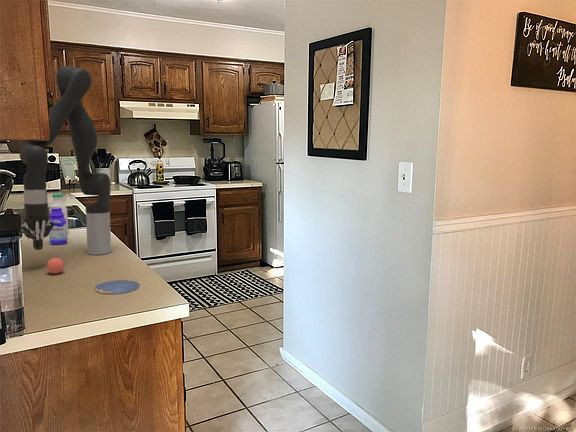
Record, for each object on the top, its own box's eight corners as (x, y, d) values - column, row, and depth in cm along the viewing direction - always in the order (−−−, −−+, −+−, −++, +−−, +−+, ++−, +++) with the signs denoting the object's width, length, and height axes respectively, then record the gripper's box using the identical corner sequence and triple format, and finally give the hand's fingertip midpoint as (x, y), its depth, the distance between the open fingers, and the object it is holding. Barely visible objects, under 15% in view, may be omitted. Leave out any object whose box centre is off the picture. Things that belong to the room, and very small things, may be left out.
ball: (48, 271, 171) (47, 256, 170) (65, 270, 173) (64, 255, 172) (45, 276, 166) (44, 260, 165) (63, 275, 167) (62, 259, 167)
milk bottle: (63, 232, 236) (61, 192, 232) (71, 234, 231) (69, 193, 228) (48, 234, 230) (45, 193, 227) (55, 237, 225) (53, 195, 222)
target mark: (95, 282, 161) (95, 281, 161) (139, 279, 165) (139, 279, 165) (92, 296, 147) (92, 295, 147) (140, 292, 152) (140, 291, 152)
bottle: (48, 245, 209) (46, 206, 206) (51, 242, 214) (48, 204, 211) (66, 244, 211) (64, 206, 208) (68, 242, 216) (66, 204, 213)
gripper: (24, 204, 162) (27, 254, 164) (59, 201, 173) (61, 247, 176) (11, 202, 165) (14, 251, 168) (46, 199, 177) (48, 245, 179)
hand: (38, 249), depth 172 cm, fingers closed
